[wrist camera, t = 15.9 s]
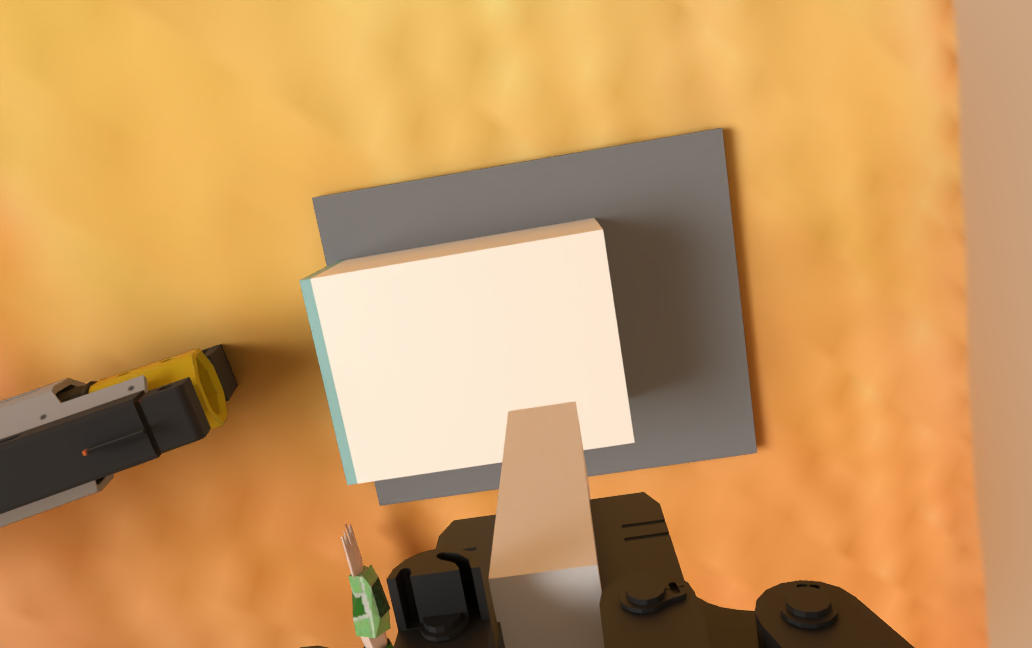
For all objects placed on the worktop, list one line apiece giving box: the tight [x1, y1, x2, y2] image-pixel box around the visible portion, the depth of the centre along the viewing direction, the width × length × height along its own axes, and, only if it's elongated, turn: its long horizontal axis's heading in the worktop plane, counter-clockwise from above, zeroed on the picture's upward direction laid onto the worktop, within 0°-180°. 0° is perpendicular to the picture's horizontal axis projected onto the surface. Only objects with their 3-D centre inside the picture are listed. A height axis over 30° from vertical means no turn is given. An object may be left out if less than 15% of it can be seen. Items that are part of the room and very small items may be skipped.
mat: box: [312, 128, 757, 506], centre depth 33 cm, size 14×17×1 cm
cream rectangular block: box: [300, 218, 635, 485], centre depth 30 cm, size 8×5×11 cm
